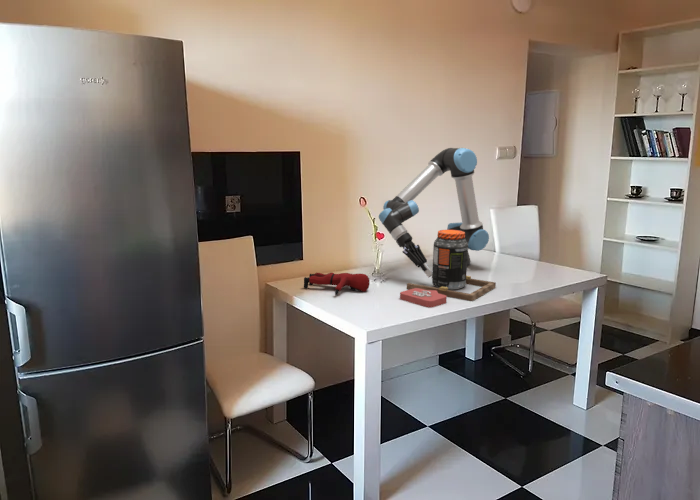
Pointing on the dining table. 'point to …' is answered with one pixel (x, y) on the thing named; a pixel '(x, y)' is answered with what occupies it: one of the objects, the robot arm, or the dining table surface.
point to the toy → (339, 281)
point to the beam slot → (485, 288)
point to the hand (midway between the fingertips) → (431, 275)
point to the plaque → (423, 297)
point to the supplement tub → (450, 259)
